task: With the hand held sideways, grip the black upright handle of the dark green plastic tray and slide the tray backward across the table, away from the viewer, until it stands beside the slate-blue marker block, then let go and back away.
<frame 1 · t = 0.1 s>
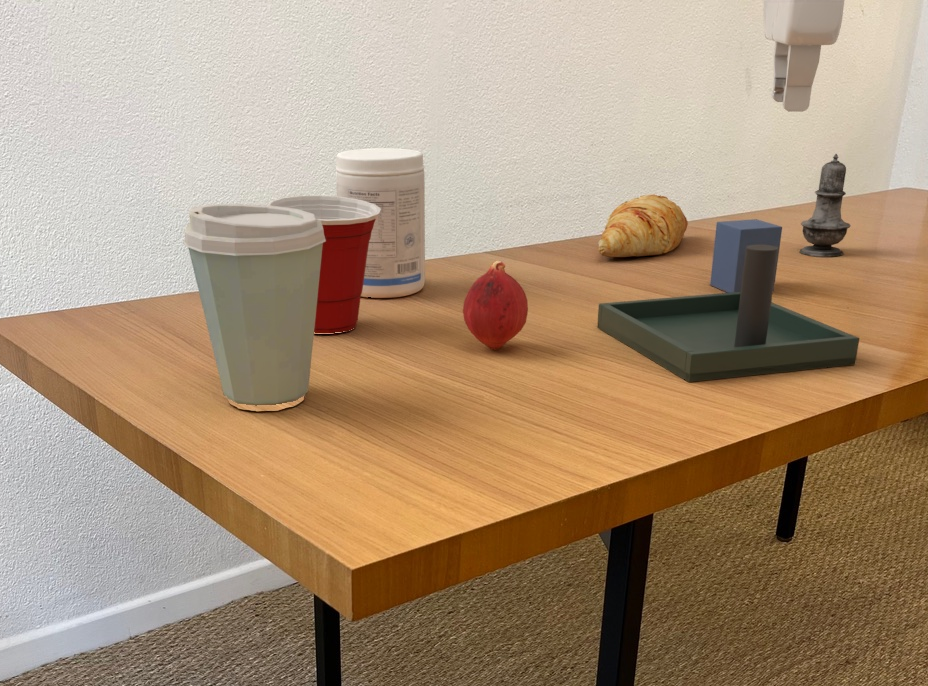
hand: (788, 106, 83), 21 cm above the table, tool pointing down, fingers open, 8 cm apart
disposable coffee cup: (268, 403, 84), on the table
supplement tub: (383, 291, 118), on the table
croissant: (640, 250, 137), on the table
tray: (718, 345, 96), on the table
salt shaker: (821, 254, 134), on the table
marker block: (741, 288, 116), on the table
plastic cup: (329, 330, 103), on the table
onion: (494, 351, 96), on the table
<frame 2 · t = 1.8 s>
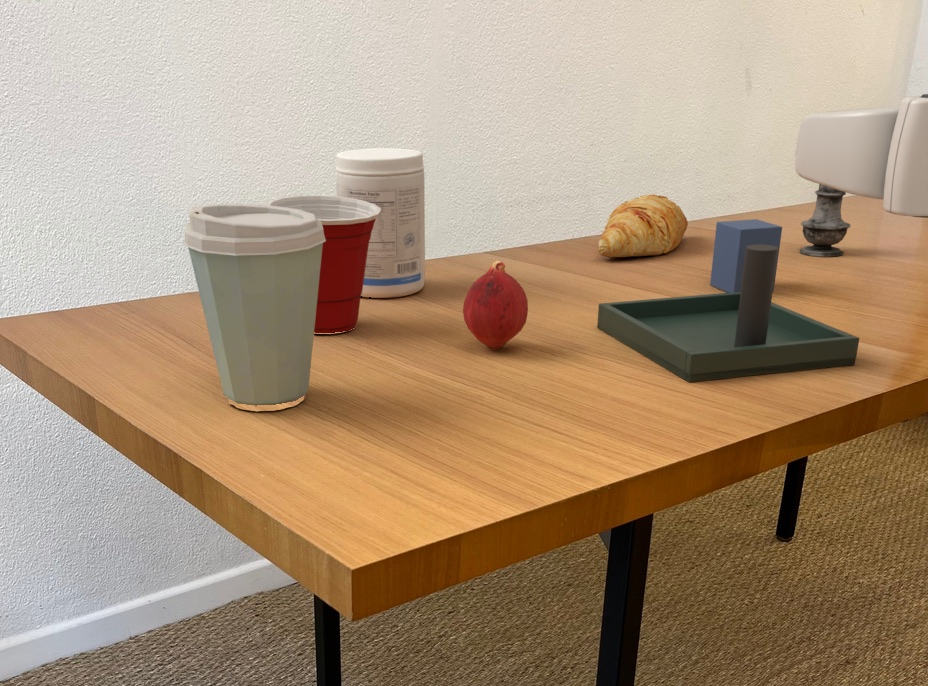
hand: (876, 132, 73), 20 cm above the table, tool horizontal, fingers open, 8 cm apart
nothing on the table moved.
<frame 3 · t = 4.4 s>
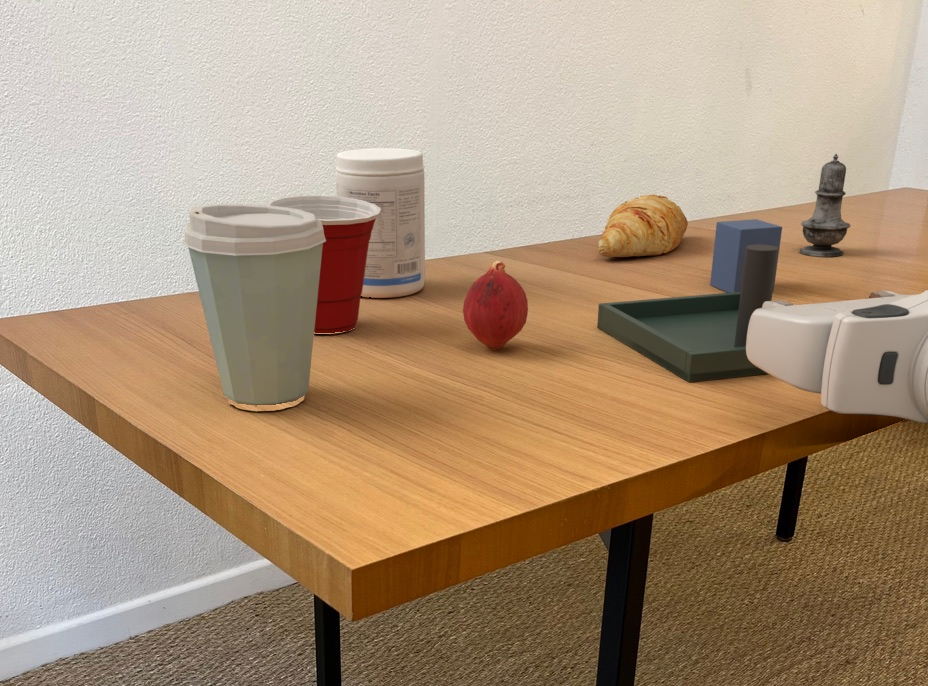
hand: (823, 306, 81), 7 cm above the table, tool horizontal, fingers open, 8 cm apart
nothing on the table moved.
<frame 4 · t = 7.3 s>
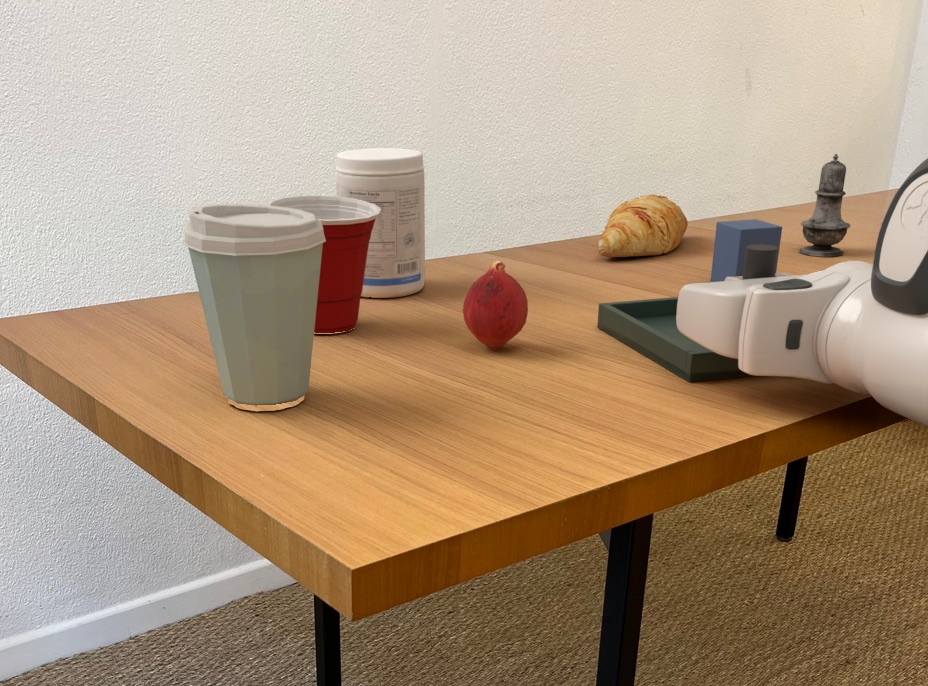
hand: (751, 284, 90), 7 cm above the table, tool horizontal, fingers closed on tray, 2 cm apart
tray: (718, 345, 96), on the table, touching gripper
everything else where it was.
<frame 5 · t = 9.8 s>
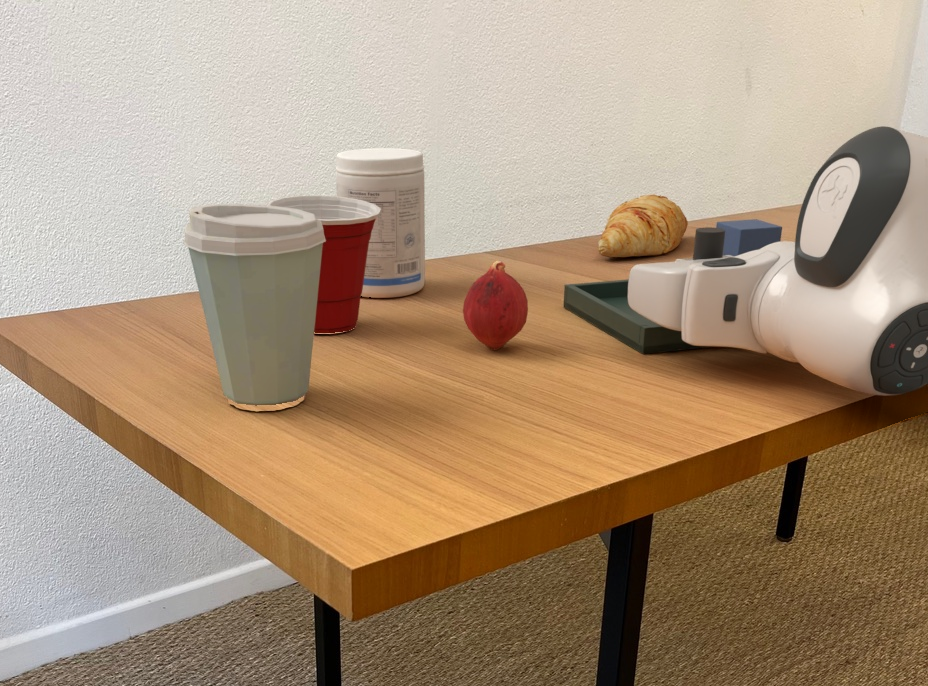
hand: (700, 265, 98), 6 cm above the table, tool horizontal, fingers closed on tray, 2 cm apart
tray: (673, 322, 104), on the table, touching gripper
everything else where it was.
when the fingers open (6 cm above the table, at t = 12.6 s): tray stays where it is, on the table.
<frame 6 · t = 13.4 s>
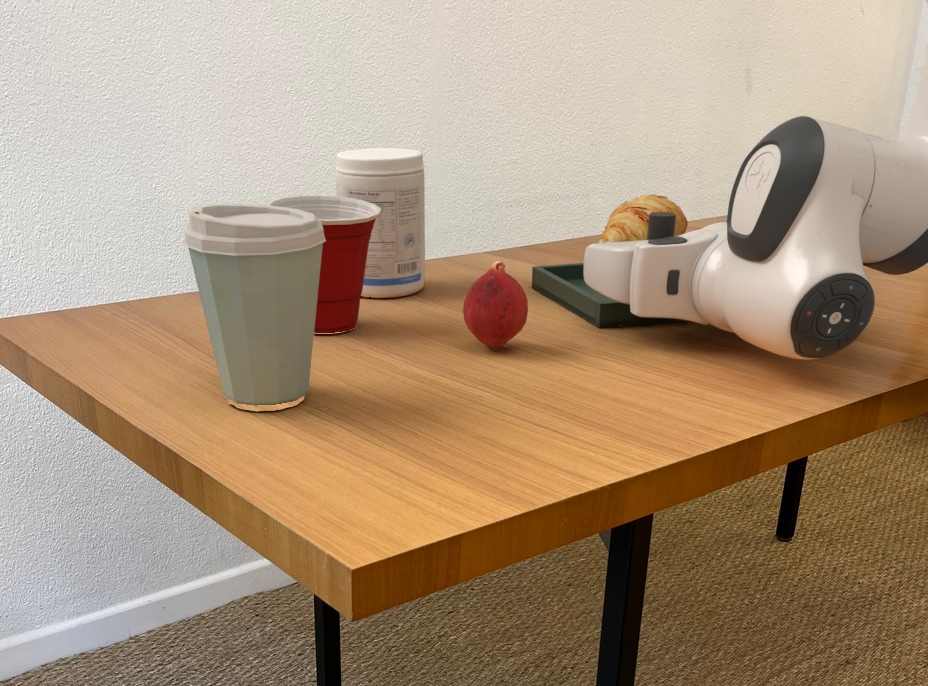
hand: (653, 246, 106), 6 cm above the table, tool horizontal, fingers open, 8 cm apart
tray: (632, 300, 112), on the table
everything else where it was.
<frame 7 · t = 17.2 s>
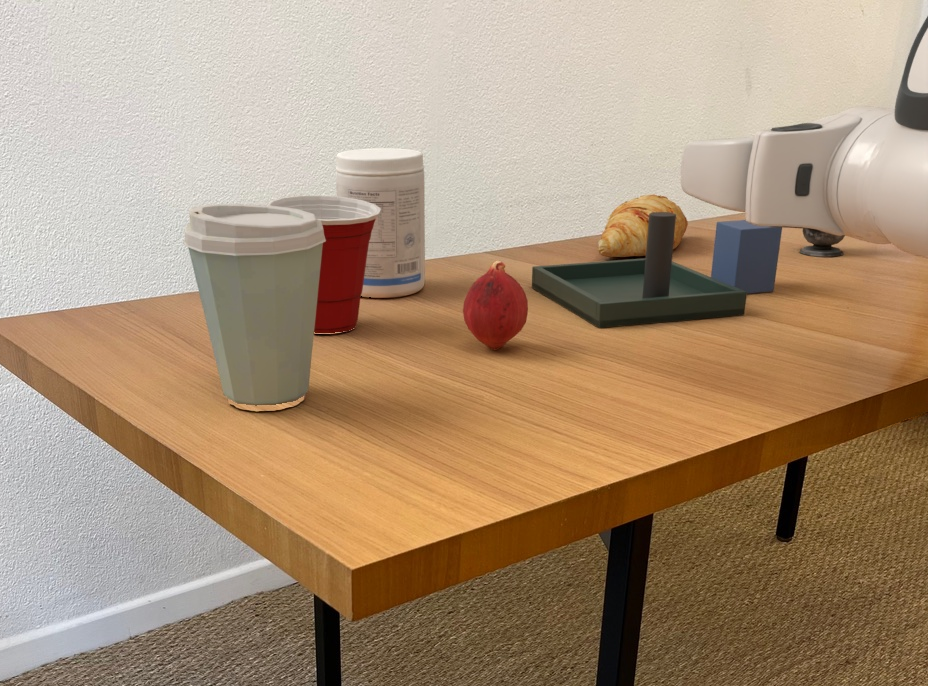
hand: (758, 152, 87), 17 cm above the table, tool horizontal, fingers open, 8 cm apart
nothing on the table moved.
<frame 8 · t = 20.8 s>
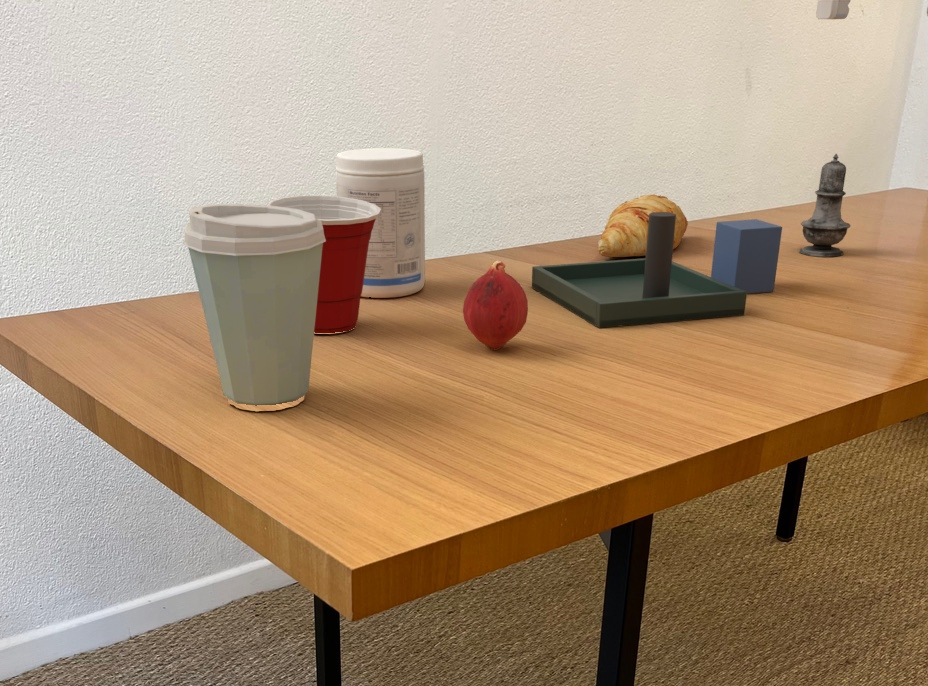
hand: (887, 18, 76), 27 cm above the table, tool pointing down, fingers open, 8 cm apart
nothing on the table moved.
at the end: tray inside the target area (0.3 cm from its centre), on the table; tray 14.0 cm from the marker block (horizontally); tray tilted 0° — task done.
